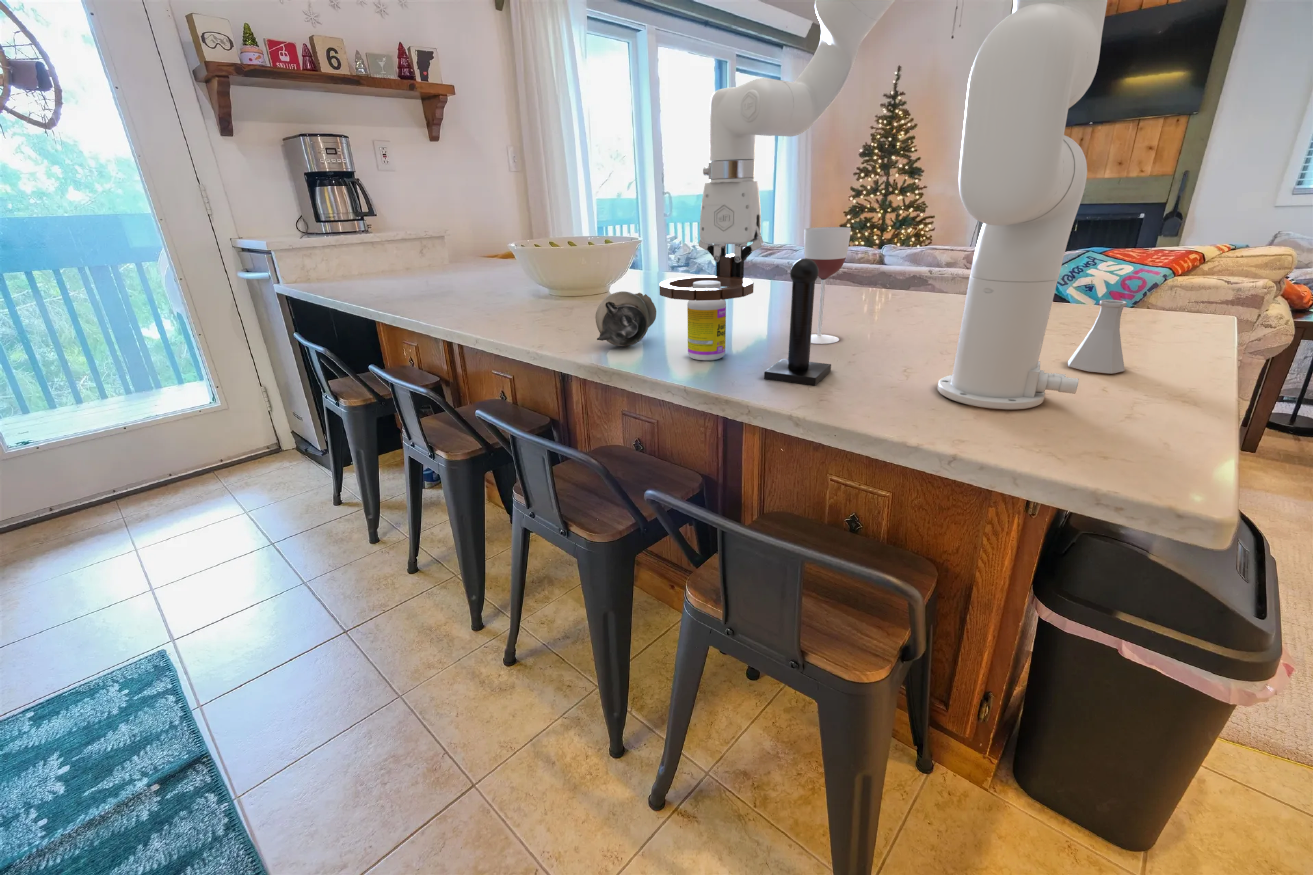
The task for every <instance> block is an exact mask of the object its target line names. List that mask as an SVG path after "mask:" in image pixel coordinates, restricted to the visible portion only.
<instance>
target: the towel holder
mask: <svg viewBox="0 0 1313 875" xmlns="http://www.w3.org/2000/svg"><path fill="white" fill-rule="evenodd" d="M818 273H819V271H818V266H817V265H816V263H815V262H814V261H812V260H811V259H806V258H805V257H804V258H800V259H798V260H796V261H795V262H794V263H793V264H792V266H791V268H790V271H789V274H790V275H789V277H790V280H791V282H792V283H791V284H792V285H791V302H790V319H789V320H790V321H789V335H788V337H789V339H788V353H787V356H788V357H787V358H782V359H780V360H778V361H777V362H776V363H774V364H773V365H772V366H770V367H769V368H767V369H766V370H765V371H764V373H763V379H764V380H769V381H776V382H777V381H778V382H785V383H791V384H792V383H793V384H799V385H805V386H806V385H807V386H814V387H815V386H817V385H818V384H819V383H820V382H821V381H822V380H823V379H824V378H825V377H826V376H828V374H830V373H831V372H832V364H831V363H824V362H815V361H810V358H811V345H812V343H811V335H812V328H813V315H814V314H813V313H814V301H815V300H814V299H815V288H816V281H817V279H818V278H819V277H818Z"/></svg>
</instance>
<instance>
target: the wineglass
mask: <svg viewBox="0 0 1313 875" xmlns="http://www.w3.org/2000/svg"><path fill="white" fill-rule="evenodd" d="M803 232H804V233H803V250H804V251H803V253H804V258H806V259H811V260H812V261H814V262H815V263H816V265H817V266H818V271H819V273H818V277H817V278H819V279H820V280H821V281H820V292H819V294H820V295H819V307H818V318H817V331H816V332H817V334H816V333H815V334H811V344H815V345H816V344H817V345H826V344H835V343H837V342H839V341H840V338H839V337H838V336H834V335H830V334H822V330H823V317H824V305H825V293H826V280H827V279H828V278H830V277H832V276H833V275H835V274H836V273H837V272H839V271H840V270H841V269H842V267H843V266H844V263H845V262H846V259H847V255H848V252H849V251H848V250H849V245H850V240H851V232H852V228H851V227H846V226H822V227H808V228H804V231H803Z"/></svg>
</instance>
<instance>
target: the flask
mask: <svg viewBox="0 0 1313 875" xmlns="http://www.w3.org/2000/svg"><path fill="white" fill-rule="evenodd" d="M1127 305H1128V302H1127V301H1126V300H1120V299H1119V300H1118V299H1102V300H1100V301H1099V306H1100V309H1099V312H1098V315H1097V317H1096V319H1095V322H1094V323H1093V325H1092V327H1091V328H1090V330H1089V331H1088V332H1087V334H1086V336H1085V337H1084V339H1083V340H1082V342H1081V343H1080V344H1079V345H1078V347H1077V348H1076V350H1074V352H1073V354H1072V355H1071V356H1070V358H1069V359H1068V361H1067V366H1068V367H1069V368H1073V369H1077V370H1081V371H1085V372H1091V373H1102V374H1111V375H1112V374H1116V373H1122V372H1125V371H1126V370H1125V362H1124V355H1123V349H1122V339H1121V338H1122V337H1121V318H1122V313H1123V310H1124V308H1125V307H1127Z"/></svg>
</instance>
